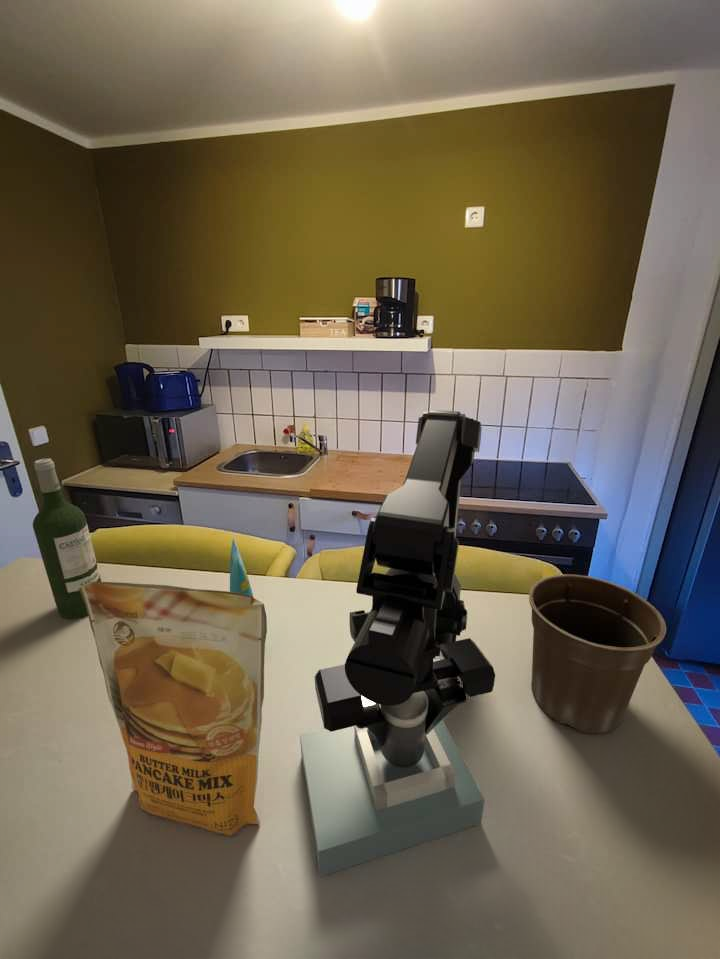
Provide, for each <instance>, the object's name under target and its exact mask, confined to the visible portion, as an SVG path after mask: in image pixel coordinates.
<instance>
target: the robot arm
mask: <svg viewBox="0 0 720 959" xmlns="http://www.w3.org/2000/svg"><path fill="white" fill-rule="evenodd" d="M482 430H483V429H482V422H481V421H478V420H476V419H474V418H470V417H467V416H466V414H465V413H462V412H460V411H457V410H443V409H442V410H441V409H429V410H428V411H424V412H423V413H422V416H420V417H418V422H417V427H416V437H415V445H416V447H415V450H414V453H413V455H412V459H411V462H410V465H409V468H408V470H407V474H406V476H405V478H404V482H403V483H402V486H399V487H398V488H397V489H395V490H393V491H392V492H390V493H389V494H387V495H385V497H384V499H383V501H382V503H381V504H380V507H379V509H378V511H377V514H376V516H375V515H374V516H373V517H371V519H370V522H369V524H368V528H367V533H366V537H365V543H364V546H363V547H364V548H363V553H362V558H361V564H360V569H359V574H358V580H357V584H356V594H357V595H358V594H359V595H364V596H369V597H372V598H371V599H372V601H371V602H372V604H371V605H372V606H371V609H370V611H368V612H366V611H365V609H363V610H357V611H350V612H349V622H348V623H349V632H350V637H351V639H352V640H353V642H354V643H353V645H352V647H351V648H350V651H349V653H348V655H347V657H346V658H345V659H346V660H345V662H344V664H340V665H336V666H331V667H326V668H325V667H324V668H321V669H319V670H318V671H317V672H316V673H315V675H314V688H315V693H316V697H317V702H318V706H319V711H320V716H321V720H322V724H323V729H324V728H325V729H327V730H329V731H330V732H332V731H336V730H340V729H344V728H348V727H352V726H357V727H358V728H360V729H362V728H367V729H368V730H369V731H371V732H372V733H373V734H374V736H375V738H376V740H377V742H378V744H379V746H380V747H381V746H383V745H384V742H385V719H384V716H383V714H382V711H381V708H380V705H387V706H393V705H399V704H402V703H404V702H405V701H407V700H408V699H409V698H410V697H411V695H412V694H413V693H417V692H421V691H424V692H425V694H426V696H427V699H428V712H427V716H426V728H425V735H426V734H428V733H429V732H430V731H431V730H432V729H433V728H434V727H435V726H436V725H437V724H438V723H439V722H440V721H441V720H444V718H445V717H447V715H449V714H450V713H451V712H452V711H453V710H455V709H456V708H457V707H458V706H459V705H462V704H464V703H466V702H467V696H468V697H470V698H473V697H476V696H481V695H485V694H488V693H492V692H493V690H494V688H495V681H496V673H495V670H494V667H493V665H492V663H491V662H490V661H489V659H487V657H486V656H485V654H484V653H483V652H482V650H481V649H480V648H479V646H478V645H477V644H476V642H474V641H473V639H471V638H470V637H468V638H464V639H460V640H457V636H458V637H460V636H461V633H463V631H466V630H467V623H468V610H467V609H466V608H465V600H463V599H461V592H462V591H461V590H462V589H461V588H462V585H461V582H460V581H459V579H458V577H457V576H456V566H457V560H458V553H459V545H460V541H459V539H458V538H457V537H456V535H457V534H456V533H457V525H458V524H457V523H458V517H459V516H458V515H459V507H460V506H459V504H460V494H461V485H462V484H461V483H462V478H463V476H465V474H466V473H467V471H468V470H469V468H470V467H471V466H472V464H473V463H474V460H475V453H480V448H481V442H482V441H481V440H482ZM375 563H376V565H378V567H380V568H381V567H382V568H388V570H387V571H386V573H385V574H384V573H379V572H373V570H374V566H375ZM461 682H462V684H461Z"/></svg>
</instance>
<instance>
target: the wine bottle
mask: <svg viewBox="0 0 720 959" xmlns="http://www.w3.org/2000/svg"><path fill="white" fill-rule="evenodd" d="M33 466H34V469H35V471H36V475H37V479H38V483H39V484H38V485H39V487H40V493H41V496H42V501H43V507H42V508H41V509H40V510H39V511H38V512H37V514H36V515H35V516H34V518H33V522H32V529H33V532H34V535H35V538H36V542H37V545H38V549H39V553H40V555H41V559H42V563H43V566H44V569H45V573H46V576H47V579H48V583H49V586H50V590H51V593H52V596H53V600H54V603H55V606H56V609H57V613H58V614H59V616H60V617H62V618H64V619H71V620H72V619H79V618H84V617H86V616H88V612H87V609H86V605H85V602H84V600H83V597H82V595H81V592H80V591H79V588H81V587H83V586H85V585H87V584H89V583H91V582H102V579H101V575H100V571H99V567H98V563H97V559H96V554H95V550H94V547H93V543H92V538H91V534H90V531H89V526H88V523H87V518H86V515H85V513H84V512H83V511H82V510H81V509H80V508H79V507H78V506H76V505H74V504H72V503H69V502H67V500H66V499H65V498H64V494H63V491H62V488H61V484H60V482H59V478H58V476H57V472H56V471H57V470H56V468H55V467H56V466H55V462H54V461H53V460H52V458H42V459H41V458H40V459H38V460H35V461H34V464H33Z"/></svg>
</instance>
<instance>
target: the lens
mask: <svg viewBox="0 0 720 959" xmlns="http://www.w3.org/2000/svg"><path fill="white" fill-rule="evenodd" d="M379 706H380V709H381V711H382V714H383V716H384V719H385V742H384V745H383V746H381V752H382V754H383V756H384V757H385V759H386V760H387V761H388V762H390V763H391V764H393V765H395V766H398V767H411V766H413V765H415V764H417V763H418V762H419V761H420V760H421V758H422V756H423V753H424V742H425V728H426V716H427V712H428V699H427V696H426V694H425V692H424V691H421V692H417V693H413V694H412V695H411V697H410V698H409V699H408V700H407V701H405V702H404V703H402V704H399V705H393V706H387V705H380V704H379Z"/></svg>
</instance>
